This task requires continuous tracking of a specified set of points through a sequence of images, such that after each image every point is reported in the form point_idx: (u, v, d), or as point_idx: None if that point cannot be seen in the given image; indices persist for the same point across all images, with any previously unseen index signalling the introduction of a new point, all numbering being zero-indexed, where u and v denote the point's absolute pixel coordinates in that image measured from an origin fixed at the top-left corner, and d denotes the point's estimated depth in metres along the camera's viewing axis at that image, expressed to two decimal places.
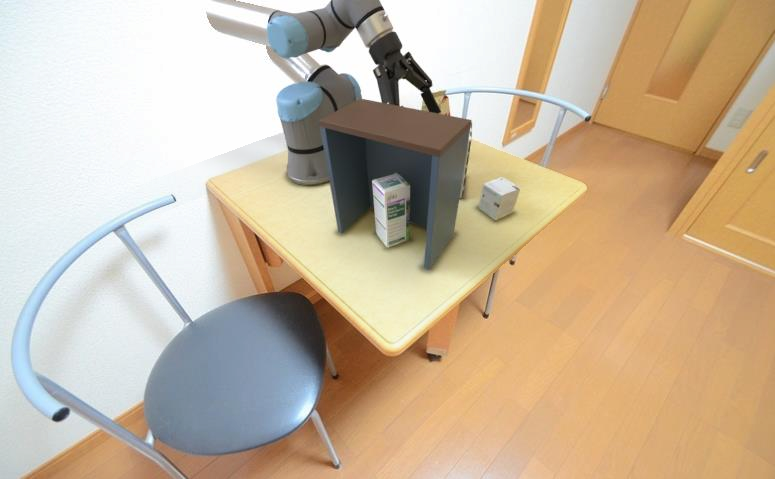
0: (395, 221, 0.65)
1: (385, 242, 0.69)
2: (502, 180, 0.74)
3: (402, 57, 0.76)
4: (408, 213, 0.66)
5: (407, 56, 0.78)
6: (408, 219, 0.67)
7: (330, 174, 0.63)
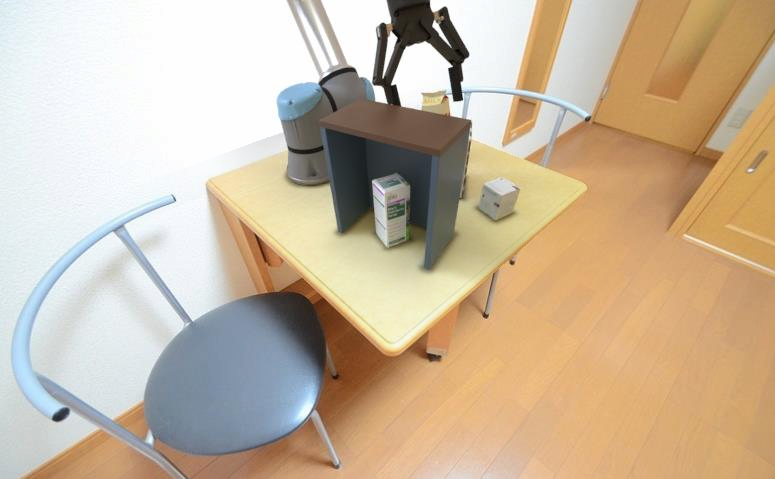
0: (395, 221, 0.65)
1: (385, 242, 0.69)
2: (502, 180, 0.74)
3: (429, 14, 0.57)
4: (408, 213, 0.66)
5: (441, 13, 0.58)
6: (408, 219, 0.67)
7: (330, 174, 0.63)
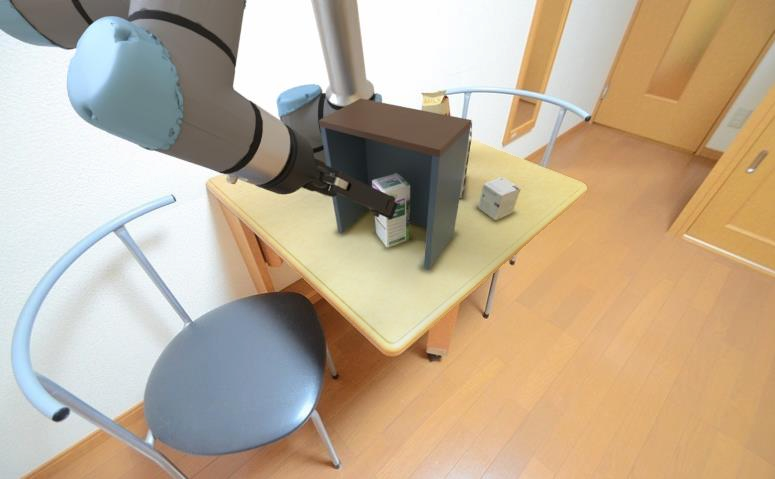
0: (395, 221, 0.65)
1: (385, 242, 0.69)
2: (502, 180, 0.74)
3: (313, 183, 0.38)
4: (408, 213, 0.66)
5: None
6: (408, 219, 0.67)
7: (330, 174, 0.63)
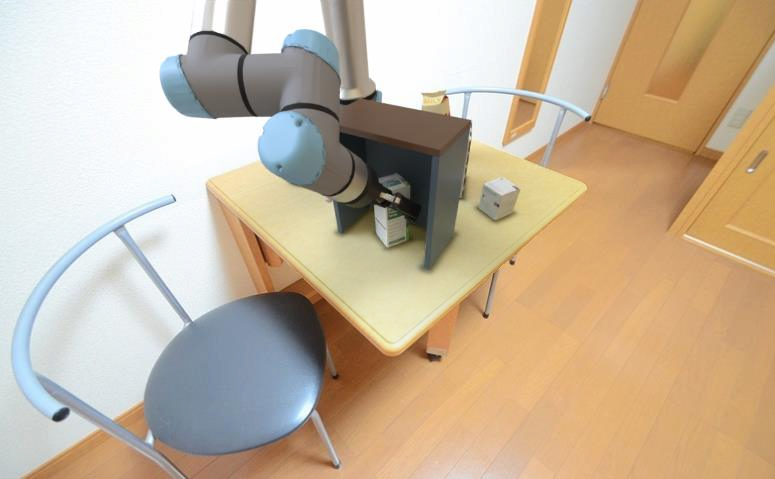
0: (395, 221, 0.65)
1: (385, 242, 0.69)
2: (502, 180, 0.74)
3: (376, 199, 0.53)
4: None
5: None
6: None
7: None
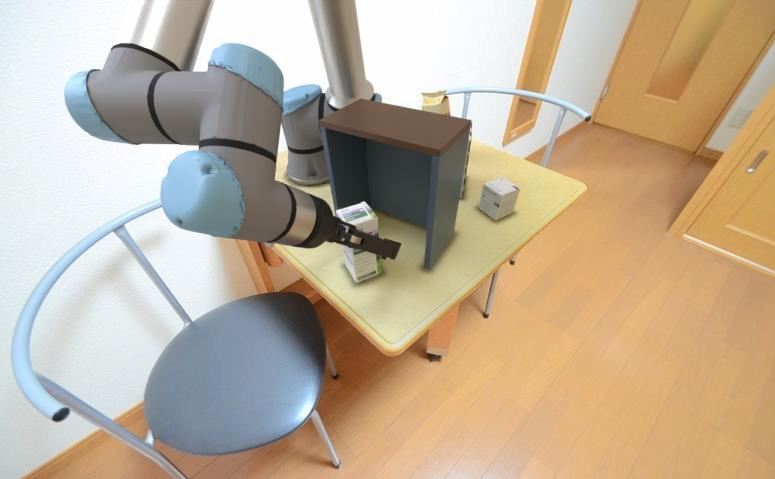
0: (362, 256, 0.58)
1: (353, 277, 0.62)
2: (502, 180, 0.74)
3: None
4: None
5: None
6: None
7: (330, 174, 0.63)
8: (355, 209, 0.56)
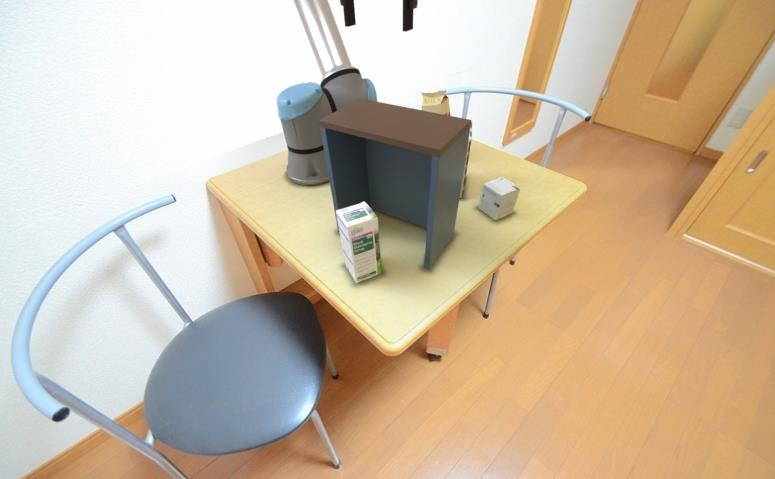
0: (362, 256, 0.58)
1: (353, 277, 0.62)
2: (502, 180, 0.74)
3: None
4: (378, 247, 0.58)
5: None
6: (378, 252, 0.59)
7: (330, 174, 0.63)
8: (355, 209, 0.56)
